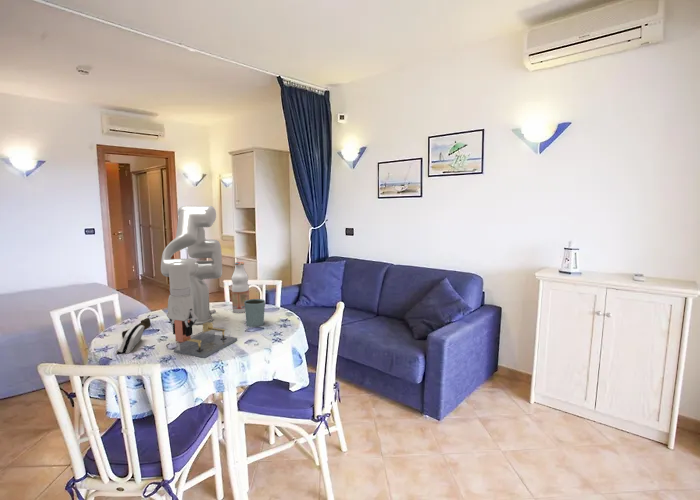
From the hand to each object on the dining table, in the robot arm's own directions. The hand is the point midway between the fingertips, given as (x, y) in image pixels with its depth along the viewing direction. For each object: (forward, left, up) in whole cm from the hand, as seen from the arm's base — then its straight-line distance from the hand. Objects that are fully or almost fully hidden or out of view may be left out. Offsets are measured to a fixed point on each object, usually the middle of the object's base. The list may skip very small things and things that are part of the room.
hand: (182, 334), depth 152 cm
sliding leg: (0, +4, -5) cm, 6 cm away
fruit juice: (-56, -14, -7) cm, 58 cm away
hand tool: (-10, -39, -8) cm, 41 cm away
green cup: (-39, +8, -7) cm, 41 cm away
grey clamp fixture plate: (-7, +6, -7) cm, 11 cm away
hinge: (+4, -24, -7) cm, 26 cm away
